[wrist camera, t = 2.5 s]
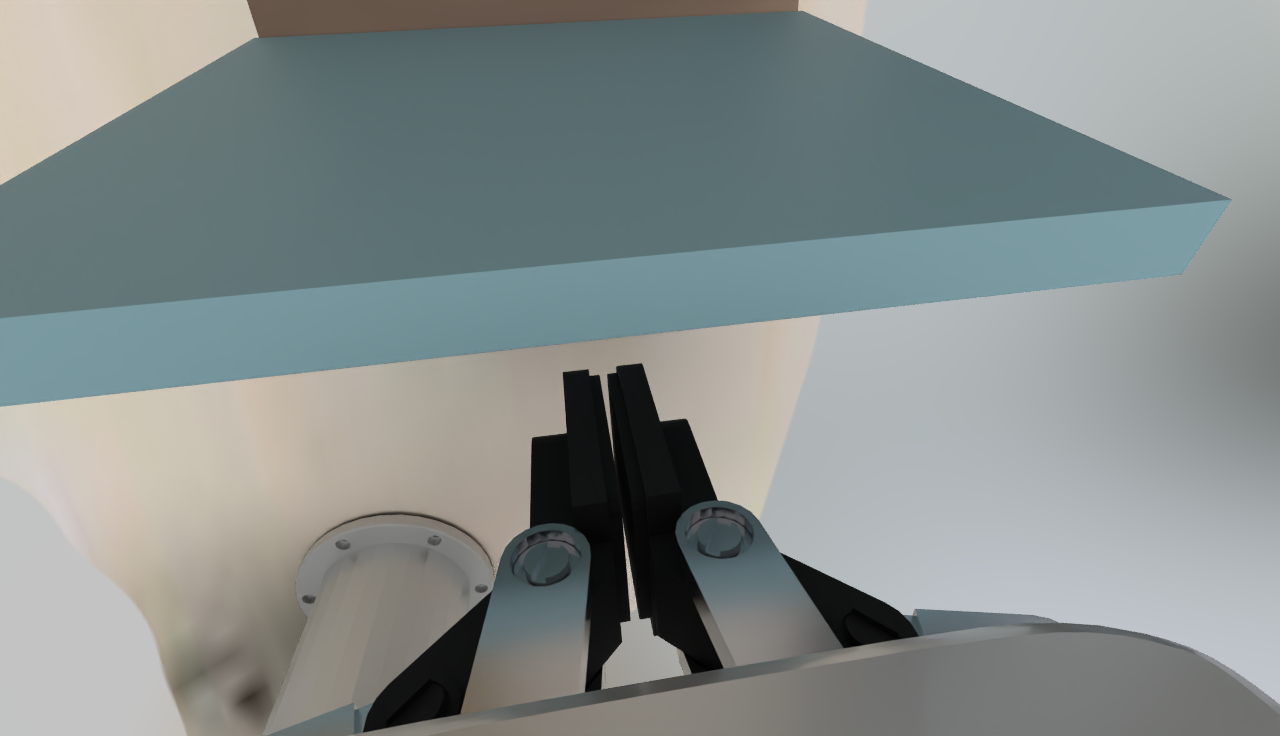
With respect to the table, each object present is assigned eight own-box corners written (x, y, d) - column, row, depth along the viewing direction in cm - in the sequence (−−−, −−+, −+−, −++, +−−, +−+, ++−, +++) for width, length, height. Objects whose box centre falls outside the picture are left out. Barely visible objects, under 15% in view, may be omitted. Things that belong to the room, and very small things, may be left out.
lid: (802, 10, 20) (796, 49, 21) (254, 38, 18) (270, 79, 19) (1231, 199, 8) (1181, 274, 9) (-275, 344, 6) (-170, 425, 7)
